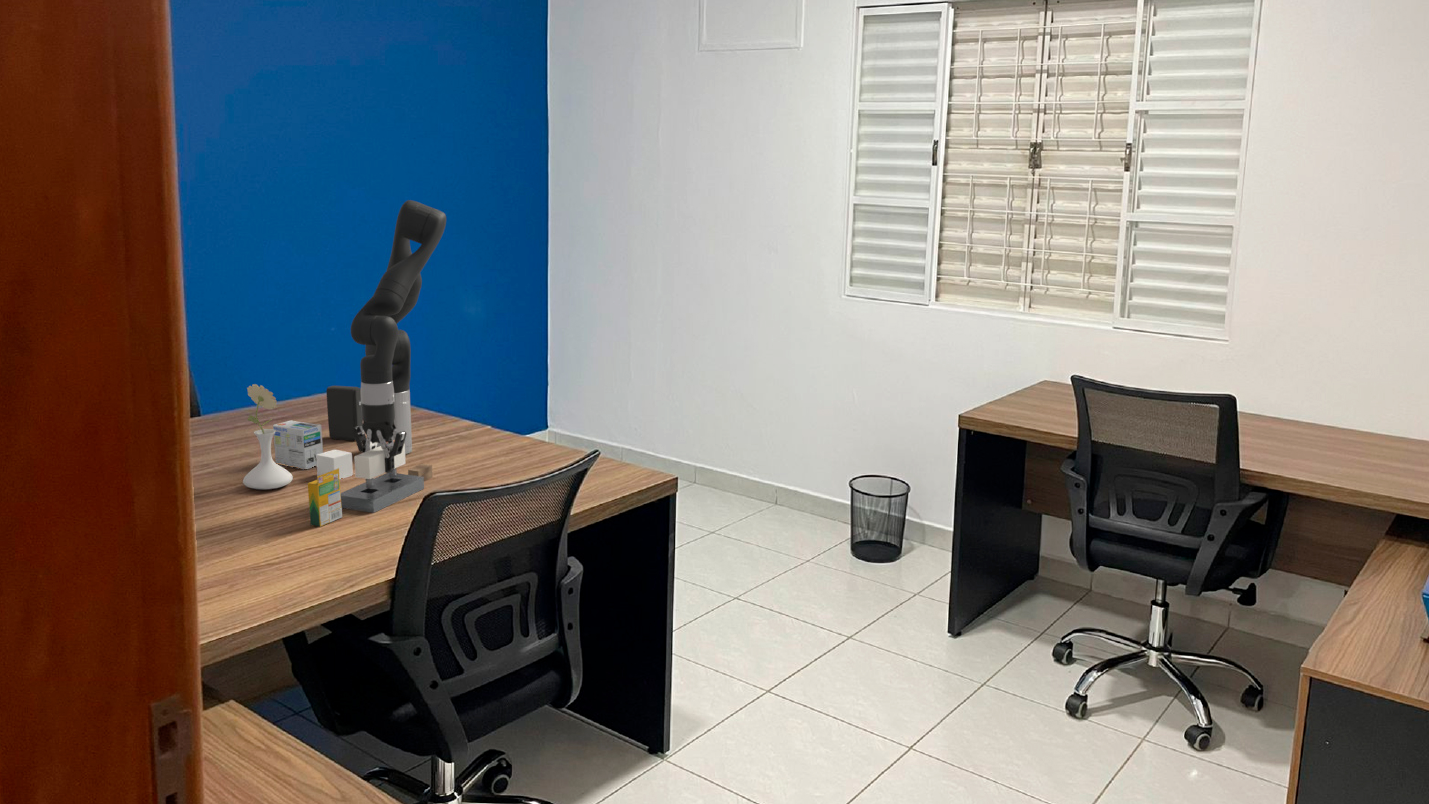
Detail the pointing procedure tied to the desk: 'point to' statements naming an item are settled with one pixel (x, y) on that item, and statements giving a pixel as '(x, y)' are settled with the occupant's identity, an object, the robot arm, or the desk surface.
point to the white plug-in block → (375, 464)
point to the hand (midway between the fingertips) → (381, 470)
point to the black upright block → (343, 411)
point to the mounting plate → (381, 492)
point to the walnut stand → (421, 471)
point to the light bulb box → (297, 443)
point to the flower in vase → (265, 447)
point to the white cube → (335, 463)
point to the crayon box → (325, 499)
